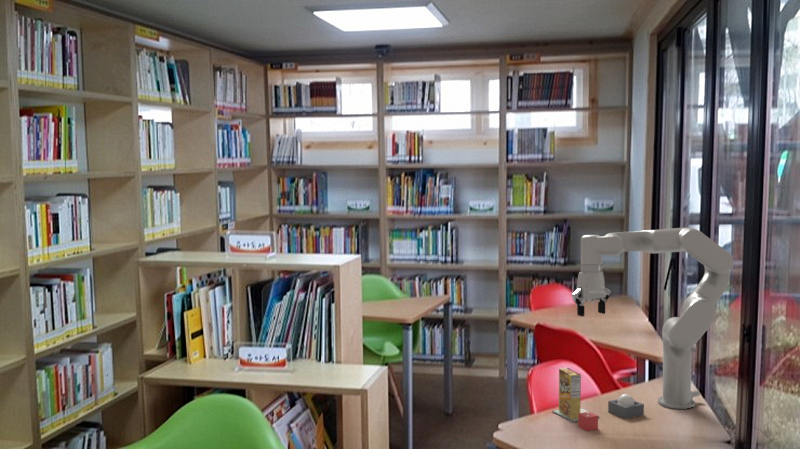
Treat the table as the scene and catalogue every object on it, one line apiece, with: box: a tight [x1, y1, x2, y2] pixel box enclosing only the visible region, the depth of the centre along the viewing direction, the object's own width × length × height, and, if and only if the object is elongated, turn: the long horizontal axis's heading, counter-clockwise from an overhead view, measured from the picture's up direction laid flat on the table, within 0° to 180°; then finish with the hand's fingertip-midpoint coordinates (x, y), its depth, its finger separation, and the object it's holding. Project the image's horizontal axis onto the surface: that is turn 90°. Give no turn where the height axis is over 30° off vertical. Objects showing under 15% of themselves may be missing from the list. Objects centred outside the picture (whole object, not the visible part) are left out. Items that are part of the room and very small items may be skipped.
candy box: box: [558, 367, 582, 419], centre depth 245 cm, size 9×4×15 cm, turn 15°
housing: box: [607, 398, 645, 420], centre depth 247 cm, size 8×8×4 cm
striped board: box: [551, 407, 600, 423], centre depth 247 cm, size 11×12×1 cm
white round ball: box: [617, 393, 635, 407], centre depth 247 cm, size 6×6×6 cm
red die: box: [577, 411, 599, 432], centre depth 234 cm, size 4×4×5 cm
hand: (591, 314), depth 260 cm, fingers open, 9 cm apart
